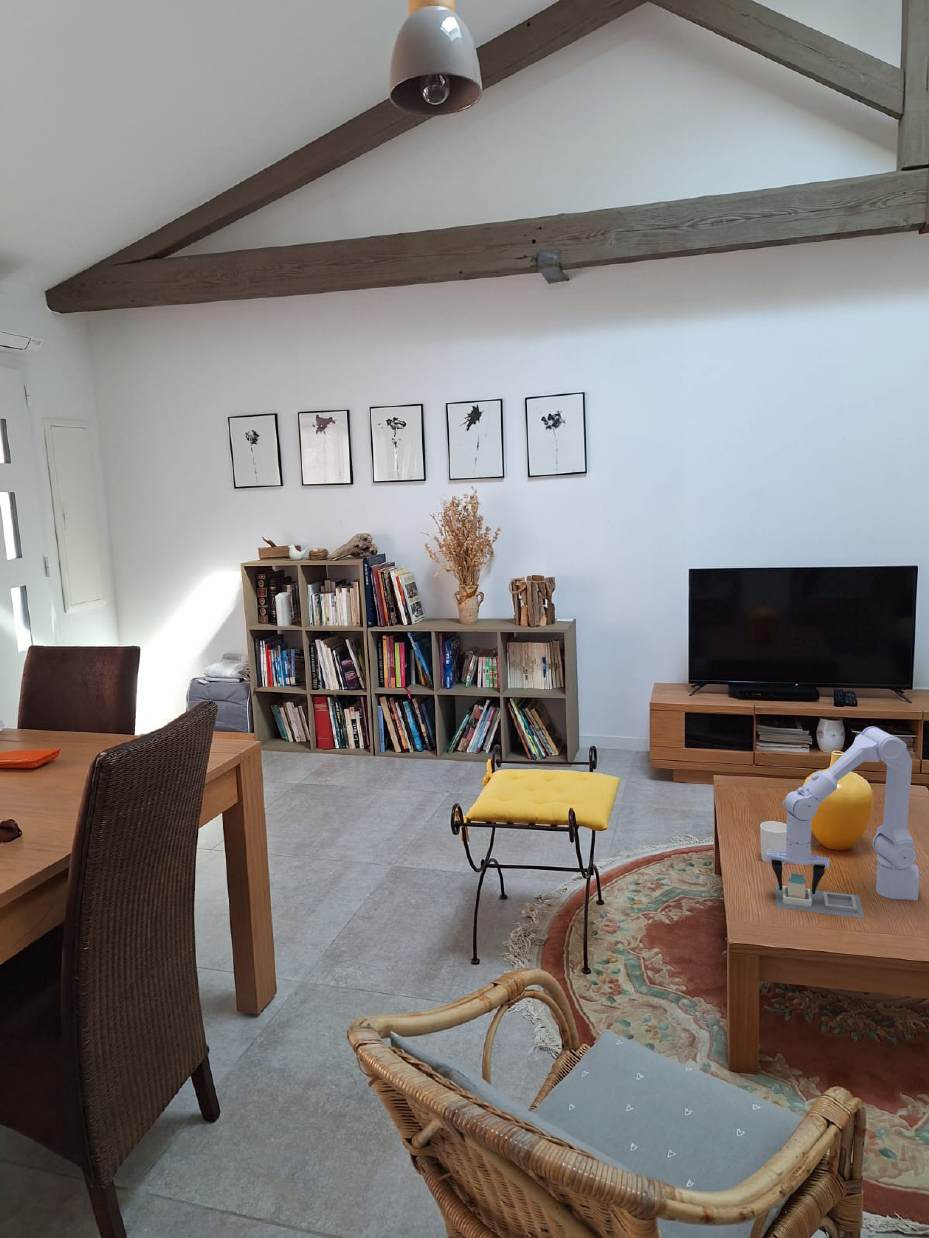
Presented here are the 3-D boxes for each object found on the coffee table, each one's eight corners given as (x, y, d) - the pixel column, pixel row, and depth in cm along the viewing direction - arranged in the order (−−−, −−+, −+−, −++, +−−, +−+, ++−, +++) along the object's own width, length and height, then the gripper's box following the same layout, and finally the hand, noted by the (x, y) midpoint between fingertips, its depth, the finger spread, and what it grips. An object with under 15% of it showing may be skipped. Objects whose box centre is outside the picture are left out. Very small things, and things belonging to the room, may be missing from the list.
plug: (805, 896, 214) (806, 874, 213) (804, 903, 211) (805, 881, 210) (788, 893, 216) (789, 871, 215) (787, 900, 212) (788, 878, 211)
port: (810, 894, 215) (810, 888, 215) (811, 906, 209) (811, 900, 209) (782, 891, 217) (782, 885, 217) (783, 903, 211) (783, 897, 211)
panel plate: (858, 899, 214) (859, 895, 214) (864, 922, 203) (864, 918, 203) (775, 889, 221) (775, 885, 221) (775, 911, 210) (776, 907, 209)
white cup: (787, 855, 240) (788, 822, 239) (790, 867, 233) (791, 833, 231) (758, 853, 242) (759, 820, 241) (760, 864, 235) (761, 830, 233)
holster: (854, 899, 212) (854, 895, 212) (857, 912, 206) (857, 908, 205) (823, 895, 215) (823, 891, 214) (825, 908, 208) (825, 905, 208)
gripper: (828, 836, 212) (826, 886, 214) (767, 830, 217) (766, 879, 219) (830, 847, 206) (829, 899, 208) (767, 841, 210) (766, 892, 213)
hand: (796, 890), depth 213 cm, fingers open, 7 cm apart
